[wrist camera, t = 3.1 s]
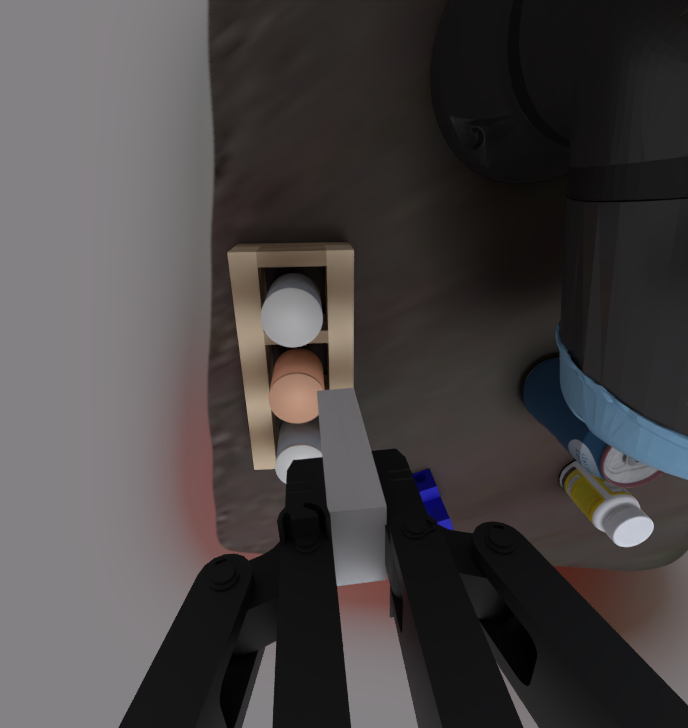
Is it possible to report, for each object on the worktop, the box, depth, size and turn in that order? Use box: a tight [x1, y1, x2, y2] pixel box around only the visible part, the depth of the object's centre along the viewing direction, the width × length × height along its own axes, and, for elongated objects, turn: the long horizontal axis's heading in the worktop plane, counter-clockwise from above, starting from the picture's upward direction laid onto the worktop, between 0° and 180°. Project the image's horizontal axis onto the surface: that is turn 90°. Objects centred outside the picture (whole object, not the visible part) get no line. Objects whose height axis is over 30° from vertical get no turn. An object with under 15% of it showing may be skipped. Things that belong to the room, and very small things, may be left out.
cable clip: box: [412, 469, 453, 530], centre depth 42 cm, size 12×4×6 cm, turn 110°
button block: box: [227, 242, 354, 470], centre depth 34 cm, size 19×9×4 cm, turn 0°
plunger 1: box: [261, 273, 323, 347], centre depth 28 cm, size 4×4×5 cm
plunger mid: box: [269, 348, 325, 423], centre depth 30 cm, size 4×4×5 cm
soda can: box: [523, 357, 664, 488], centre depth 34 cm, size 7×7×12 cm
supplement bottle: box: [560, 461, 654, 547], centre depth 41 cm, size 5×5×8 cm
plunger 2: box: [275, 417, 322, 484], centre depth 33 cm, size 4×4×5 cm
